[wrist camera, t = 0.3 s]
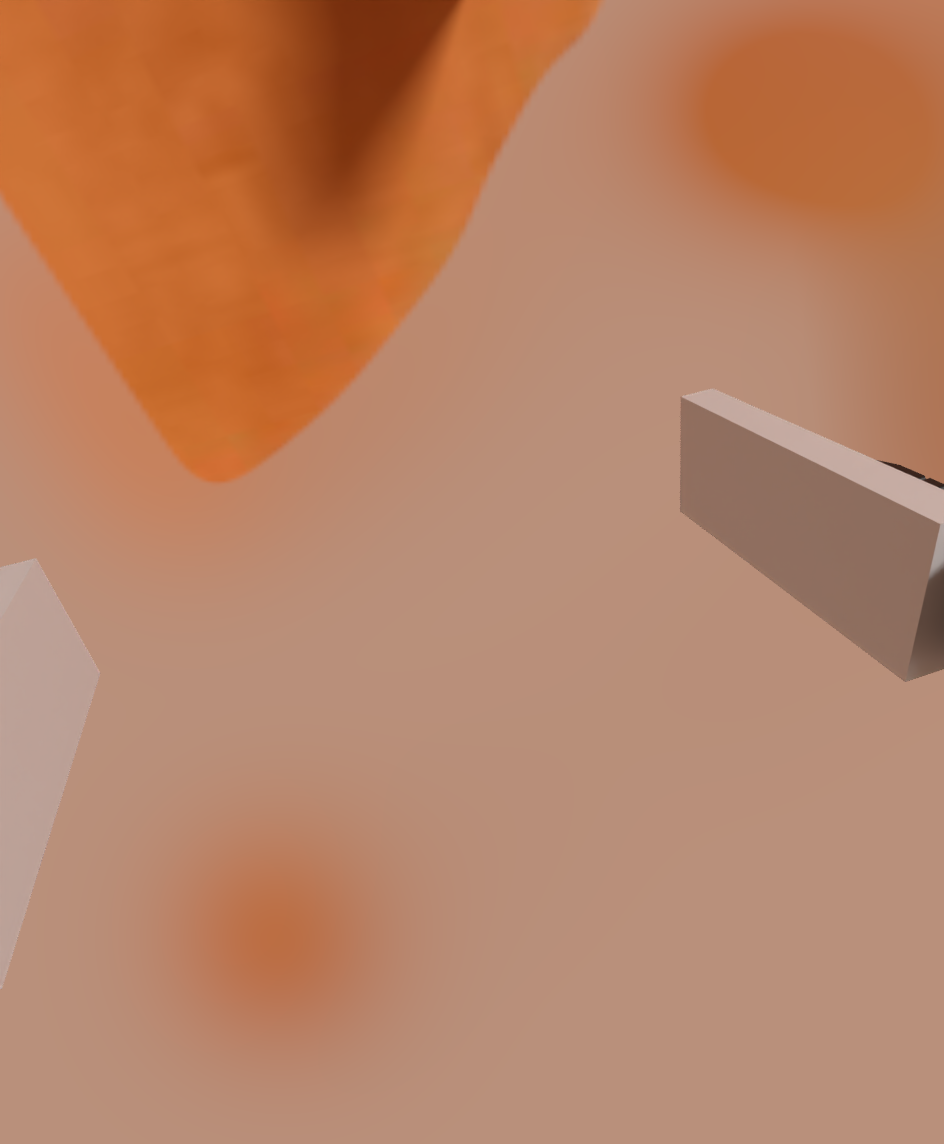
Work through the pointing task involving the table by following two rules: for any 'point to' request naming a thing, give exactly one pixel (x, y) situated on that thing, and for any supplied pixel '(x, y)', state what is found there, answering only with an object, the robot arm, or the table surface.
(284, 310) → the table surface
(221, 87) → the table surface
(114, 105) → the table surface
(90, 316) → the table surface
